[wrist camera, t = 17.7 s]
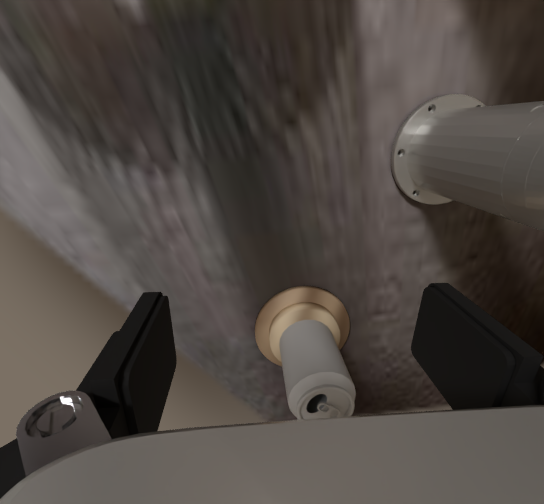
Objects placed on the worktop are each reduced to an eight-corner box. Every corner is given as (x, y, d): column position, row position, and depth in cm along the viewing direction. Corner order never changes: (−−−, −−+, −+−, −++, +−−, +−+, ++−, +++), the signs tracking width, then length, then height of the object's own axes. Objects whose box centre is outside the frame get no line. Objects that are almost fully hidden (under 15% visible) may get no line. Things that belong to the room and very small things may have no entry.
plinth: (352, 284, 43) (359, 295, 41) (342, 361, 49) (348, 375, 46) (254, 287, 42) (255, 298, 40) (255, 366, 48) (256, 381, 45)
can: (296, 307, 41) (315, 374, 30) (341, 328, 43) (375, 398, 31) (268, 348, 43) (276, 425, 32) (312, 366, 45) (335, 444, 34)
